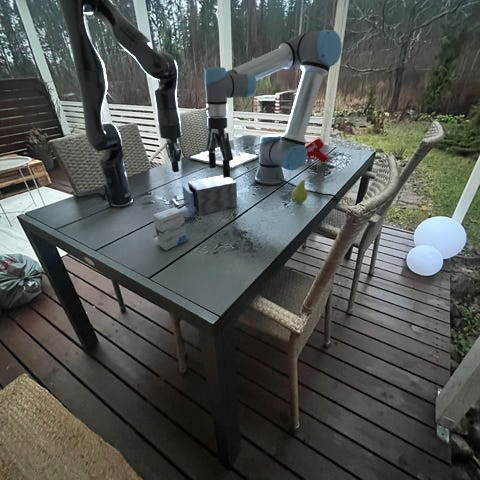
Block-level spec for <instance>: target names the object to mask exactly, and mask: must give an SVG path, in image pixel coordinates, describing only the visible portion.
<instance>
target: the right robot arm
mask: <svg viewBox="0 0 480 480" xmlns="http://www.w3.org/2000/svg"><path fill="white" fill-rule="evenodd" d="M341 55H342V41H341V37H340V35H339V33H338V32H336V30H333V29H322V30H317V31H311V32H310V31H307V32H303V33H301V34H298V35H297V36H295V37H293V38H291V39H289V40H287V41H285V42H283V43H281V44H280V45H279V46H278V48H276V49H274V50H272V51H270V52H267V53H265V54H263V55H260V56H258V57H255V58H254V59H251V60H249V61H247V62H245V63H243V64H241V65H238V66H236V67H234V68H232V69H229V70H227V68H225V67H206V68H205V70H204V87H205V101H206V103H205V104H206V105H205V106H206V107H205V110H206V115H207V116H208V117H207V118H206V122H207V124H206V125H207V137H206V145H205V150H206V151H208V152H209V163H208V167H209V169H215V168H217V165H216V158H215V152H214V151H215V149H216V148H217V146H218V147H220V150H221V153H222V156H223V159H224V160H223V161H222V162H223V166H222V175H223V178H227V177H229V178H231V168H230V161H231V160H233V156H232V151H231V149H232V147H231V142H230V135H229V132H225V129H227V128H228V117H227V116H228V99H232V98H233V99H235V98H246V99H247V98H250V97H253V96H255V95H256V92H257V88H258V82H257V81H259V80H261V79H264V78H265V77H268V76H270V75H272V74H274V73H276V72H279V71H281V70H283V69H284V70H289V69H291V68H294V67H300V70H301V71H302V74H301V78H300V80H299V81H300V82H299V85H298V88H297V92H296V95H295V99H294V101H293V105H292V108H291V113H290V116H289V120H288V123H287V127H286V130H285V132H284V133H283V134H279V133H278V134H266V135H262V136H260V139H259V143H258V145H259V153H258V157H259V158H258V167H257V171H256V174H255V177H254V181H255V183H258V184H259V185H262V186H263V185H264V186H279V185H281V184H283V183H285V184H287V185H290V186H291V187H294V188H296V187H297V186H298V185H296V184H294V183H291V182H289V181H287V180H285V175H284V172H283V171H284V170H288V171H296V170H299V169H300V168H302V166H303V165H304V164H305V162H306V161H307V158H308V157H307V149H306V148H305V146H306V145H307V141H306V138H305V135H306V132H307V130H308V126H309V123H310V120H311V117H312V114H313V110H314V107H315V104H316V101H317V98H318V94H319V91H320V89H321V85H322V82H323V79H324V77H325V76H327V75H328V74H329V72H330V69H331V67H333V66H335V65H336V64H337V63H338V61H339V60H340V58H341ZM283 169H284V170H283ZM305 189H306V190H307V192H308V193H312V194H317V195H322V196H327V197H333V198H334V199H335V200H337V201H338V200H339V198H338V197H337V196H336V195H335V194H333V193H325V192H320V191H315V190H311V189H307V188H305ZM323 193H324V194H323Z"/></svg>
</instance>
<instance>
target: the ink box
mask: <svg viewBox="0 0 480 480" xmlns="http://www.w3.org/2000/svg"><path fill="white" fill-rule="evenodd" d="M152 219H153V224H154V229H155V234H156V237H157V243H158V246H160V248H162V249H164V250H165V251H168V250H170V249H173V248H174V247H176V246H178V245H181V244H182V243H184V242H187V234H186V227H185V221H184V220H185V219H184V214H183V210H181V209H180V208H176V207H175V206H173V207H171V208H168V209H164V210H163V211H160V212H156V213H154V214H152Z"/></svg>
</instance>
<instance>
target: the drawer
mask: <svg viewBox="0 0 480 480" xmlns="http://www.w3.org/2000/svg"><path fill="white" fill-rule="evenodd" d="M181 187H182V197H181V198H176V199H175V198H172V199H171V201H170V202H171V203H172V204H173V206H174V207H175V208H177V209H179V207H181V206H184V207H185V208H186V209H187V211H188V212H189V213H190V214H191V215H196V213H197V212H199V209H198V199H197V191H196V190H195V189H194V188H192V187H191V186H190V185H189V186H186V184H182V185H181ZM179 201H180V202H181V201H183V203H178V202H179ZM195 209H196V210H197V212H196V211H195Z"/></svg>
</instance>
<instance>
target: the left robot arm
mask: <svg viewBox="0 0 480 480" xmlns="http://www.w3.org/2000/svg"><path fill="white" fill-rule="evenodd" d="M58 4H59V8H60V12H61V14H62V18H63V22H64V25H65V28H66V33H67V36H68V41H69V45H70V49H71V54H72V58H73V65H74V70H75V75H76V80H77V84H78V88H79V94H80V97H81V98H80V99H81V104H82V112H83V121H84V130H85V137H86V140H87V142H88V145H89V146H90V147H91V148H92V150H94V151H96V152H103V153H102V155H101V157H99V159H98V164H99V168H100V171H101V174H102V178H103V181H104V184H103V189H104V193H102V192H93V193H89V194H85V195H77V194H76V193H75V191H74V190H71V192H70V193H71V194H72V195H73V196H74V197H75V198H86V197H91V196H96V195H97V196H98V195H101V196H102V197H103V200H107V203H108V206H111V207H113V208H126V207H128V206H130V205H133V203H134V199H133V196H132V191H131V186H130V183H129V179H128V175H127V171H126V167H125V163H124V159H125V154H124V153H125V152H124V148H123V143H122V138H121V134H120V132H119V130H118V128H117V127H116V126H115V124H113V123H110V122H103V119H102V118H103V116H102V110H103V106H104V103H105V99H106V97H107V96H106V95H107V90H108V80H107V74H106V72H107V71H106V67H105V62H104V61H103V58H102V56H101V55H100V53H99V51H98V50H97V48H96V46H95V44H94V43H93V40H92V39H91V36H90V35H89V32H88V29H87V23H86V17H85V15H92V16H93V17H95V18H97V19H98V20H100V21H101V22H102V23H103V24H105V26H107V28H108V29H109V30H110V32H111V35H112V37H113V38H114V39H115V41H116V42H117V43H118V44H119V45H120V46H121V47H122V48H123V49H124V50H125V51H126V52H127V53H128V54H129V55H131V56H132V57H133V58H134V59H135V60H136V62H137V63H138V64H139V66H140V68H141V69H142V70H143V71H144V73H146V74H147V75H148V76H149V77H150V78H152V79H154V80H159V81H158V82H159V83H158V87H157V88H156V89H155V90H154V93H153V95H154V102H155V108H156V120H157V126H158V131H159V137H160V138H161V139H164V140H165V142H164V147H165V151H166V154H167V157H168V159H169V161H170V164H171V170H172V172H173V173H179V172H180V166H179V162H181V156H182V149H180V143H179V142H178V138H179V139H180V138H181V137H182V135H183V134H182V126H181V118H180V112H179V107H178V106H179V105H178V99H177V98H178V97H177V87H178V75H179V72H178V65H177V61H176V60H175V58H174V57H173V55H171V54H170V53H168V52H157V51H156V50H154V49H153V47H152V42H151V41H150V39H149V37H148V36H146V35H145V34H144V33H143V32H141V31H140V29H138V28H137V27H136V26H135V25H134V24H133V23H132V22H130V20H129V19H127V18H126V17H125V16H124V15H123V14H122V13H121V12H120V11H119V9H117V7H116V6H115V5H114V4H113V3H112V1H111V0H58Z"/></svg>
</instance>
